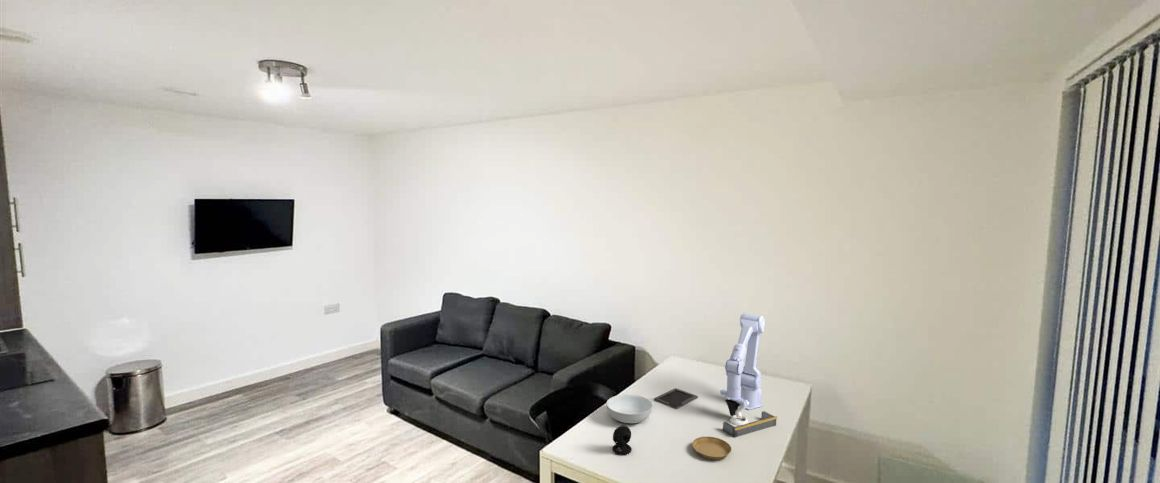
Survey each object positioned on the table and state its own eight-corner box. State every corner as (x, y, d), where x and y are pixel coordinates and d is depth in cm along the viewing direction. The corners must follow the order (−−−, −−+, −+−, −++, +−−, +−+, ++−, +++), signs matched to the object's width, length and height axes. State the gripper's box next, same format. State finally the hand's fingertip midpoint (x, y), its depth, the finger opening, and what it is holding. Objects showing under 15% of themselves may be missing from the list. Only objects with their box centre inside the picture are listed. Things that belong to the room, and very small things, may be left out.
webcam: (617, 457, 176) (617, 432, 175) (608, 448, 183) (608, 423, 182) (635, 453, 179) (635, 428, 179) (626, 443, 186) (626, 420, 185)
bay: (763, 418, 208) (764, 410, 207) (776, 425, 201) (777, 416, 201) (722, 430, 197) (723, 421, 197) (735, 438, 191) (735, 428, 190)
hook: (762, 415, 200) (750, 407, 198) (744, 434, 202) (732, 427, 201) (755, 403, 207) (743, 396, 205) (737, 422, 209) (726, 415, 208)
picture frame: (676, 410, 217) (697, 399, 229) (676, 406, 217) (697, 395, 229) (653, 401, 227) (675, 390, 239) (653, 397, 227) (675, 387, 239)
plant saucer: (725, 467, 170) (725, 460, 170) (686, 455, 178) (686, 449, 178) (735, 449, 183) (735, 442, 182) (698, 439, 191) (698, 432, 190)
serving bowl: (658, 412, 214) (658, 398, 213) (644, 433, 195) (644, 417, 194) (615, 404, 222) (615, 390, 222) (599, 423, 203) (599, 408, 203)
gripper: (715, 382, 212) (714, 410, 213) (738, 394, 199) (738, 424, 200) (727, 379, 215) (726, 407, 216) (751, 391, 202) (750, 420, 203)
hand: (732, 415), depth 208 cm, fingers closed
